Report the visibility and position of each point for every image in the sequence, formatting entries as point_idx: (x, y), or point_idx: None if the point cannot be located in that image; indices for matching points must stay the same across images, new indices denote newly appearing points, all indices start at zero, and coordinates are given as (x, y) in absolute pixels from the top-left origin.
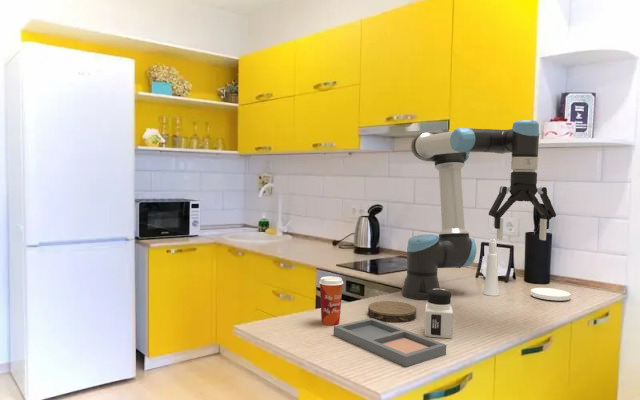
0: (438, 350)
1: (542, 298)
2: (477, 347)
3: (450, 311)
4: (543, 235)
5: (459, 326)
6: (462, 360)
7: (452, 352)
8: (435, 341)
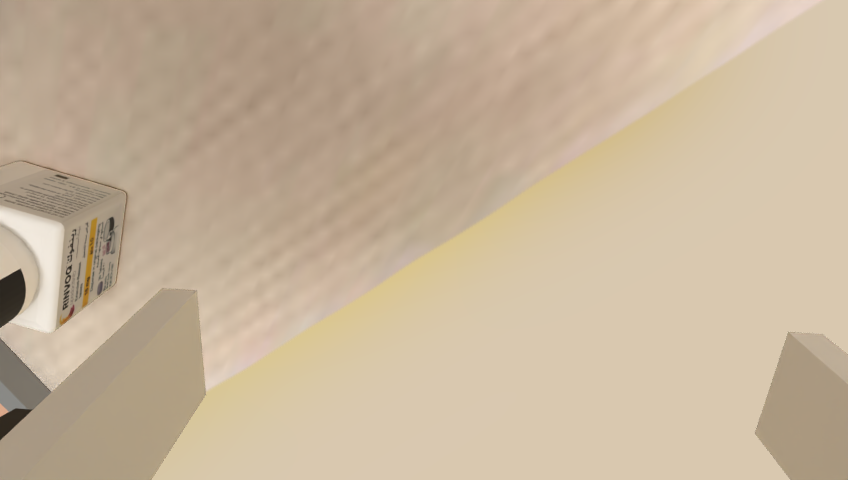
0: None
1: None
2: None
3: (38, 327)
4: (795, 474)
5: (180, 137)
6: None
7: None
8: (17, 403)
